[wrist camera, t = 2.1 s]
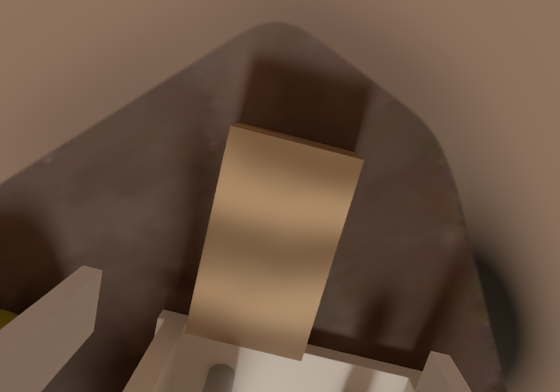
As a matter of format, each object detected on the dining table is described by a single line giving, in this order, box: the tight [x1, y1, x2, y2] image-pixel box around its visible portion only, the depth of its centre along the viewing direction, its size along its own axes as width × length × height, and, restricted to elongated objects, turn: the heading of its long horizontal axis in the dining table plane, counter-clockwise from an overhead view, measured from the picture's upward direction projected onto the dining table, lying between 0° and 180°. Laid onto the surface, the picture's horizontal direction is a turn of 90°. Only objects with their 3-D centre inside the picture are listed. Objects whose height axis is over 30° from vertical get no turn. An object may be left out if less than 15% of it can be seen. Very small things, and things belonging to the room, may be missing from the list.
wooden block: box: [185, 122, 364, 361], centre depth 26 cm, size 14×8×4 cm, turn 166°
